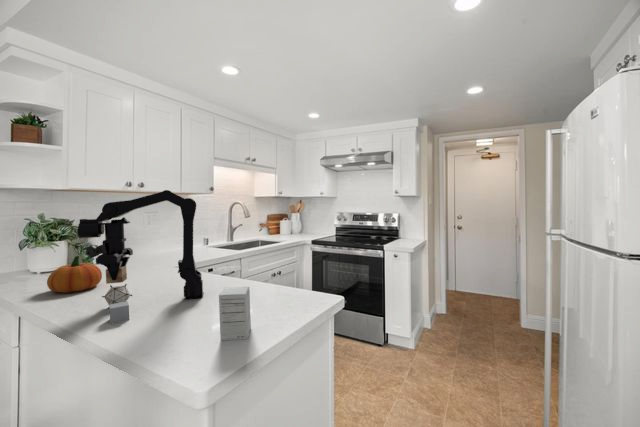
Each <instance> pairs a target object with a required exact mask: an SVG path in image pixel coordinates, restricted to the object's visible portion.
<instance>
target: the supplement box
mask: <svg viewBox="0 0 640 427" xmlns="http://www.w3.org/2000/svg"><path fill="white" fill-rule="evenodd" d="M250 292H251V291H250V286H231V287H224V288H223V290H222V291H221V292H220V293H219V295H218V303H219V304H218V307H219V308H218V309H219V311H218V312H219V330H220V331H219V334H220V337H219V338H220V341H237V340H247V339H248V338H249V335H250V333H251V329H252V325H251V324H252V323H251V321H252V320H251V295H250Z"/></svg>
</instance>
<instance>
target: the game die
mask: <svg viewBox="0 0 640 427" xmlns="http://www.w3.org/2000/svg"><path fill="white" fill-rule="evenodd" d="M127 286H128V284H127V283H125V284H124V285H120V286H117V285H116V286H112V285H111V284H110V286H109V287H110V288H109V289H108V291H106V293H105V295H102V296H101V298H104V300H105V301H106V302H107V305H108V307H107V309H109V305H110V304H115V303H121V302H126V301H128V300H129V299H130V297H132V296H133V294H130V292H129V290H128V288H127ZM109 310H110V309H109Z"/></svg>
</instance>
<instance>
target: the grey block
mask: <svg viewBox="0 0 640 427" xmlns="http://www.w3.org/2000/svg"><path fill="white" fill-rule="evenodd" d="M108 307H109V322H110V325H113V324H117V323H122V322H126V321H130V304H129V301H128V300H127V301H126V302H121V303H115V304H110V305H108Z"/></svg>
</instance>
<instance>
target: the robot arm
mask: <svg viewBox="0 0 640 427" xmlns="http://www.w3.org/2000/svg"><path fill="white" fill-rule="evenodd" d="M163 202H169V203H171V204H174V205H176V206H177V207H180V212H181V216H182V223H183V225H182V226H183V233H182V234H183V239H182V242H183V244H182V251H183V252H182V255H183V256H182V259H179V260H178V261H177V266H178V270H177V273H178V274H179V276H180V278H181V279H182V280H184V281H185V282H184V286H183V297H184V300H192V299H195V300H196V299H201V298H203V296H204V288H203V283H204V282H203V279H202V272H200V271H199V270H197V267H196V266H197V265H196V262H195V257H194V222H195V221H194V220H195V216H196V215H195V214H196V212H197V211H196V210H197V203H196V201H195V200H194V199H192V198H191V197H190V198H189V197H186V198H184V197H182V196H180V195H178V194H176V193H174V192H172V191H171V190H168V189H166V190H162V191H161V192H160V191H159V192H155V193H152V194H149V195H145V196H141V197H137V198H134V199H129V200H120V201H119V200H118V201H110V202H107V203H104V205H103V206H102V208H101V209H102V210H101V212H100V213H99V215H98V216H97V218H95V219H93V218H92V219H89V218H81V219H79V223H78V226H77V229H76V231H77V236H78V238H79V239H91V238H101V236H102V235H104V240H102V244H100V245H97V246H96V245H94V244H93V245H89V246H87V247H86V248H85V249H86V250H85V253H84V255H85V256H88V258H89V259H94V258H95V265H101V266H104V267H106V269H108V271H109V274H110V276H111V278H112V280H116V279H117V276H118V273H119V270H120V267H121V266H126V267H127V264H128V262H129V259H130V258H131V256H132V255H133V249H132V248H131V247H126V246H125V242H126V241H127V237H125V227H124V225H125V224H126V225H129V224H131V221H130V220H129V219H127V218H126V217H124V215H127V214H129V213H131V212H132V211H135V210H138V209H141V208H145V207H148V206H153V205H156V204H160V203H163ZM120 217H122V218H120ZM117 218H120V219H117ZM110 220H111V221H110ZM107 221H110V222H107Z"/></svg>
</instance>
